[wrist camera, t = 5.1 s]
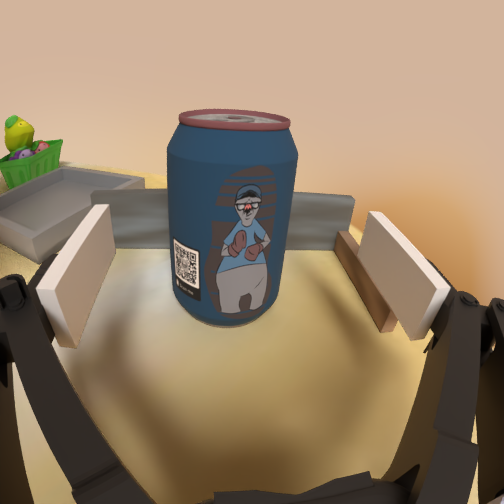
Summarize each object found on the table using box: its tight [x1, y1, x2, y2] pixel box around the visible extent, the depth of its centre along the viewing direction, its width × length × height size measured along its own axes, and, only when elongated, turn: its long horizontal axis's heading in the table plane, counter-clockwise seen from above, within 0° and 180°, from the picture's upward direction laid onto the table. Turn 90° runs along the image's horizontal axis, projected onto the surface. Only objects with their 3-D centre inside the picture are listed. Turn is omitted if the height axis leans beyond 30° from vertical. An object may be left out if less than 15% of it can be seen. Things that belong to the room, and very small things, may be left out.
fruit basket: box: [0, 115, 63, 189], centre depth 38 cm, size 11×9×11 cm
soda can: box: [167, 109, 298, 328], centre depth 18 cm, size 7×7×12 cm
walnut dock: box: [90, 189, 398, 333], centre depth 21 cm, size 12×22×5 cm, turn 96°
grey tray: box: [0, 166, 145, 264], centre depth 30 cm, size 16×16×2 cm
